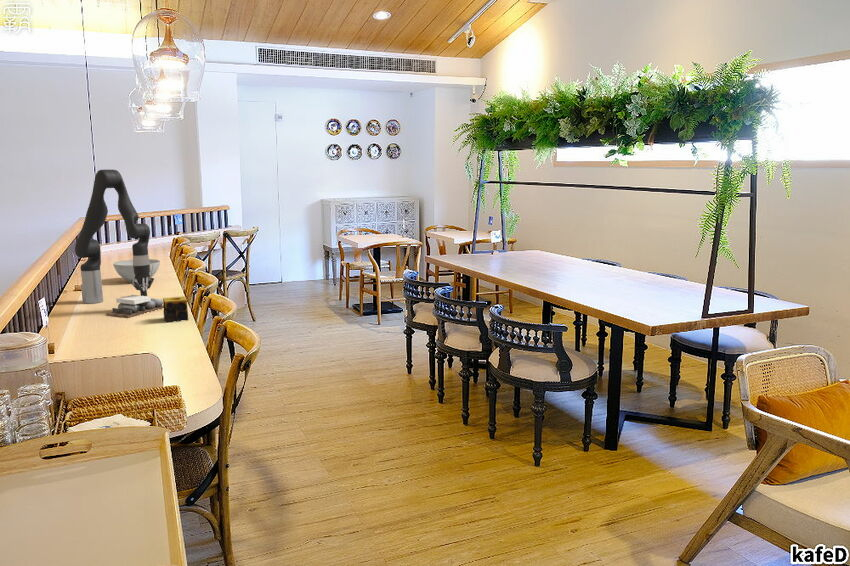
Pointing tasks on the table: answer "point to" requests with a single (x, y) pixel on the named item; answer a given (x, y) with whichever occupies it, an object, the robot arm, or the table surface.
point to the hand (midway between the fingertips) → (144, 297)
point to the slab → (133, 299)
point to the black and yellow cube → (175, 309)
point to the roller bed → (144, 308)
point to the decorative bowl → (127, 269)
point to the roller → (129, 307)
